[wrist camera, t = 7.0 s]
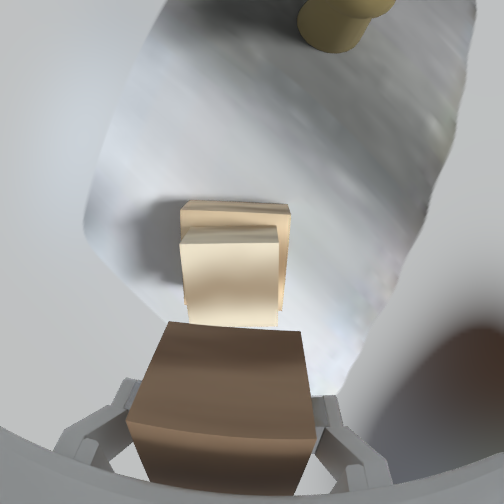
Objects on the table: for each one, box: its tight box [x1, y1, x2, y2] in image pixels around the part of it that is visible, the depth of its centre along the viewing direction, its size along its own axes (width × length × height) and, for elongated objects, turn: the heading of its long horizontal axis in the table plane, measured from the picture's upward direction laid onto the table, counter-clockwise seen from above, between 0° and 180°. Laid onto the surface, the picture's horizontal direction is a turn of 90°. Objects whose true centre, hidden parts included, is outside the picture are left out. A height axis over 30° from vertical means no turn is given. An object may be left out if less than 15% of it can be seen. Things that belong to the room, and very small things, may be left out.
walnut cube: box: [125, 321, 317, 496], centre depth 10 cm, size 5×5×5 cm
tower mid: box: [179, 225, 279, 327], centre depth 25 cm, size 7×7×4 cm
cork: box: [297, 0, 396, 53], centre depth 17 cm, size 6×6×11 cm
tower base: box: [180, 200, 291, 311], centre depth 29 cm, size 9×9×4 cm
